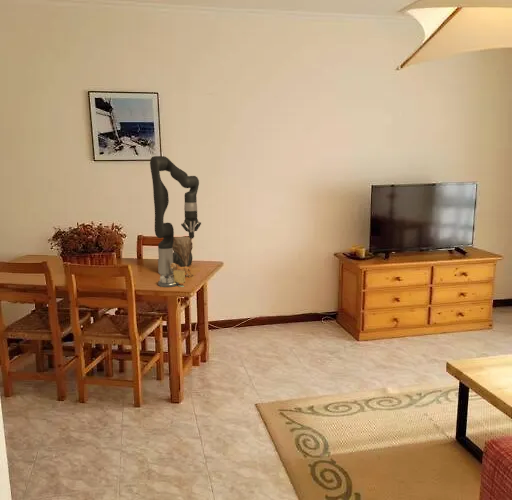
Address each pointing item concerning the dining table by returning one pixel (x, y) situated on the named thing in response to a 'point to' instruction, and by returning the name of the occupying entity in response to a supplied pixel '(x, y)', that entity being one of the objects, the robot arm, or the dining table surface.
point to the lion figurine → (180, 268)
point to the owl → (182, 251)
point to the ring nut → (174, 277)
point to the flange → (167, 283)
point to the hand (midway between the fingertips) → (191, 238)
